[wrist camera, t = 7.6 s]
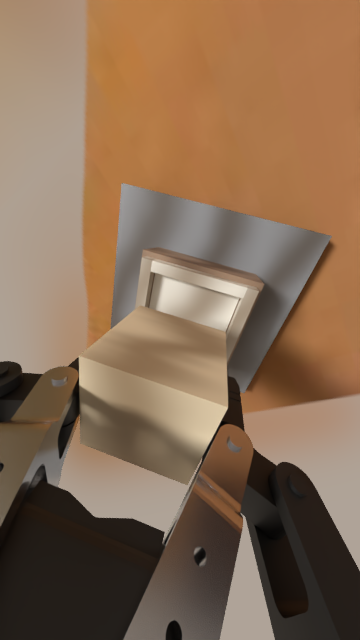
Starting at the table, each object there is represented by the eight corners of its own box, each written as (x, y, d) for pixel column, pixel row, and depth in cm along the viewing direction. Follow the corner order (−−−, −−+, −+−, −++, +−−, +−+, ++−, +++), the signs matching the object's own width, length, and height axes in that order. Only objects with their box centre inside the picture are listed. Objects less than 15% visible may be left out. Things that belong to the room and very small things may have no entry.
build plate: (324, 236, 16) (379, 235, 10) (243, 386, 24) (249, 431, 18) (128, 186, 17) (83, 162, 12) (114, 342, 25) (83, 372, 20)
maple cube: (225, 331, 10) (228, 407, 6) (200, 394, 12) (187, 485, 8) (140, 305, 10) (79, 355, 6) (130, 370, 13) (80, 443, 8)
